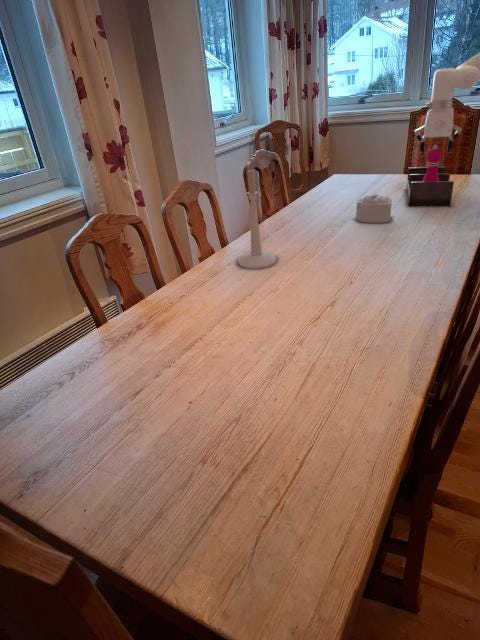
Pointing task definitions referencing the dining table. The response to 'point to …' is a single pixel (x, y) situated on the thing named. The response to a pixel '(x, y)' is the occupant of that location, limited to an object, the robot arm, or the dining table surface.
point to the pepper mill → (432, 164)
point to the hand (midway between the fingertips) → (435, 151)
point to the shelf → (428, 188)
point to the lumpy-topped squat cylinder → (374, 209)
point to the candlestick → (255, 235)
